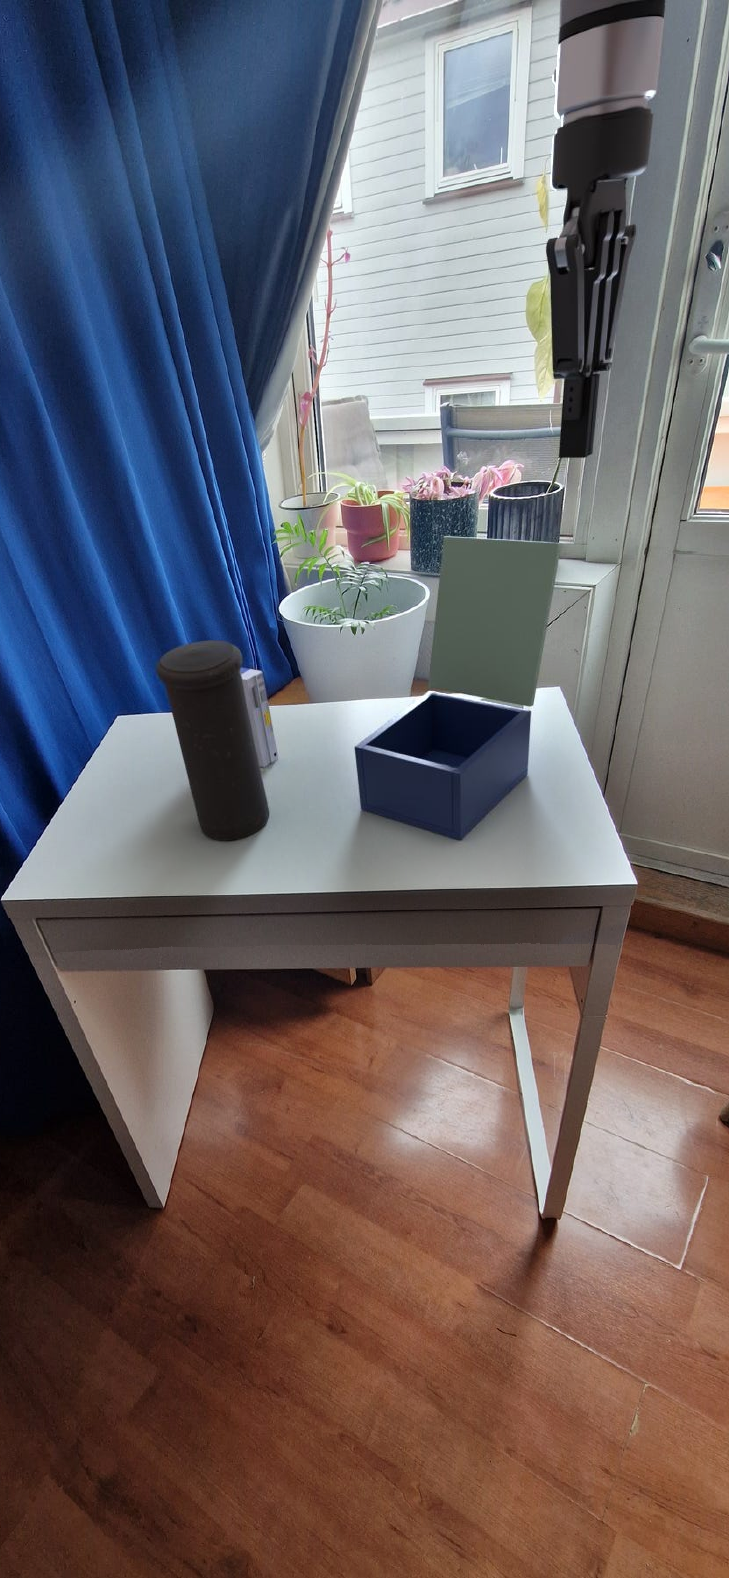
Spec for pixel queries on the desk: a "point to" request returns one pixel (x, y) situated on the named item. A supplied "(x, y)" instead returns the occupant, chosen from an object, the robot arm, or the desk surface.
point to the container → (215, 737)
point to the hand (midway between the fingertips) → (575, 455)
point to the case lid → (492, 617)
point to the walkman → (259, 716)
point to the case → (443, 762)
